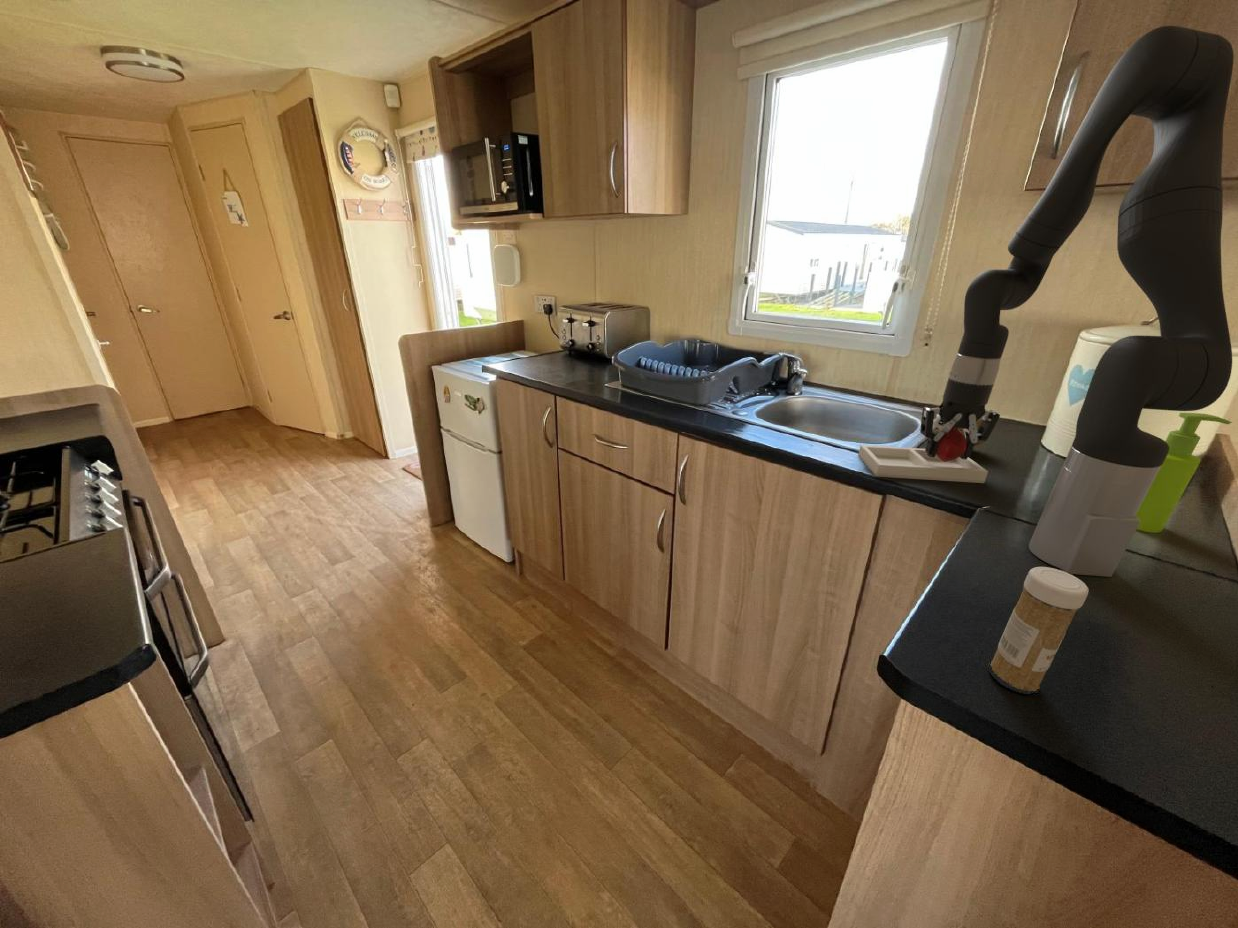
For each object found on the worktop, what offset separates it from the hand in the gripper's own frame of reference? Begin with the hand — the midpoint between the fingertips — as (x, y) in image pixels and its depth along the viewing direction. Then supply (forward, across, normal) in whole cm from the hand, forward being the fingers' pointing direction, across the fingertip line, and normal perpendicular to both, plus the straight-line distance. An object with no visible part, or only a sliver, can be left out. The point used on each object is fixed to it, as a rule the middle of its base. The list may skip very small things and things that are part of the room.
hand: (946, 456), depth 102 cm
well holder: (+3, -5, 0) cm, 6 cm away
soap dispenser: (+3, +24, -19) cm, 31 cm away
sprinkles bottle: (+4, -20, -58) cm, 61 cm away
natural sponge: (+3, +10, +13) cm, 17 cm away
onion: (+1, 0, 0) cm, 1 cm away
